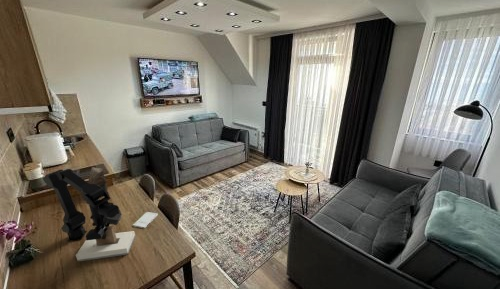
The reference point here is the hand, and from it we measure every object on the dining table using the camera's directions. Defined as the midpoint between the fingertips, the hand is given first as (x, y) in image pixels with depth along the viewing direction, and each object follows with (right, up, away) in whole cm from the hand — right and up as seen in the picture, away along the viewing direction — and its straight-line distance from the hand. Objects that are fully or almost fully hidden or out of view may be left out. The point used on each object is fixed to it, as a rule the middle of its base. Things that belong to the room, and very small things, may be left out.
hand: (105, 237), depth 105 cm
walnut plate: (0, -3, +1) cm, 4 cm away
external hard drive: (+9, -1, +23) cm, 25 cm away
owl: (-39, +10, +47) cm, 62 cm away
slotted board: (0, -7, +2) cm, 7 cm away
